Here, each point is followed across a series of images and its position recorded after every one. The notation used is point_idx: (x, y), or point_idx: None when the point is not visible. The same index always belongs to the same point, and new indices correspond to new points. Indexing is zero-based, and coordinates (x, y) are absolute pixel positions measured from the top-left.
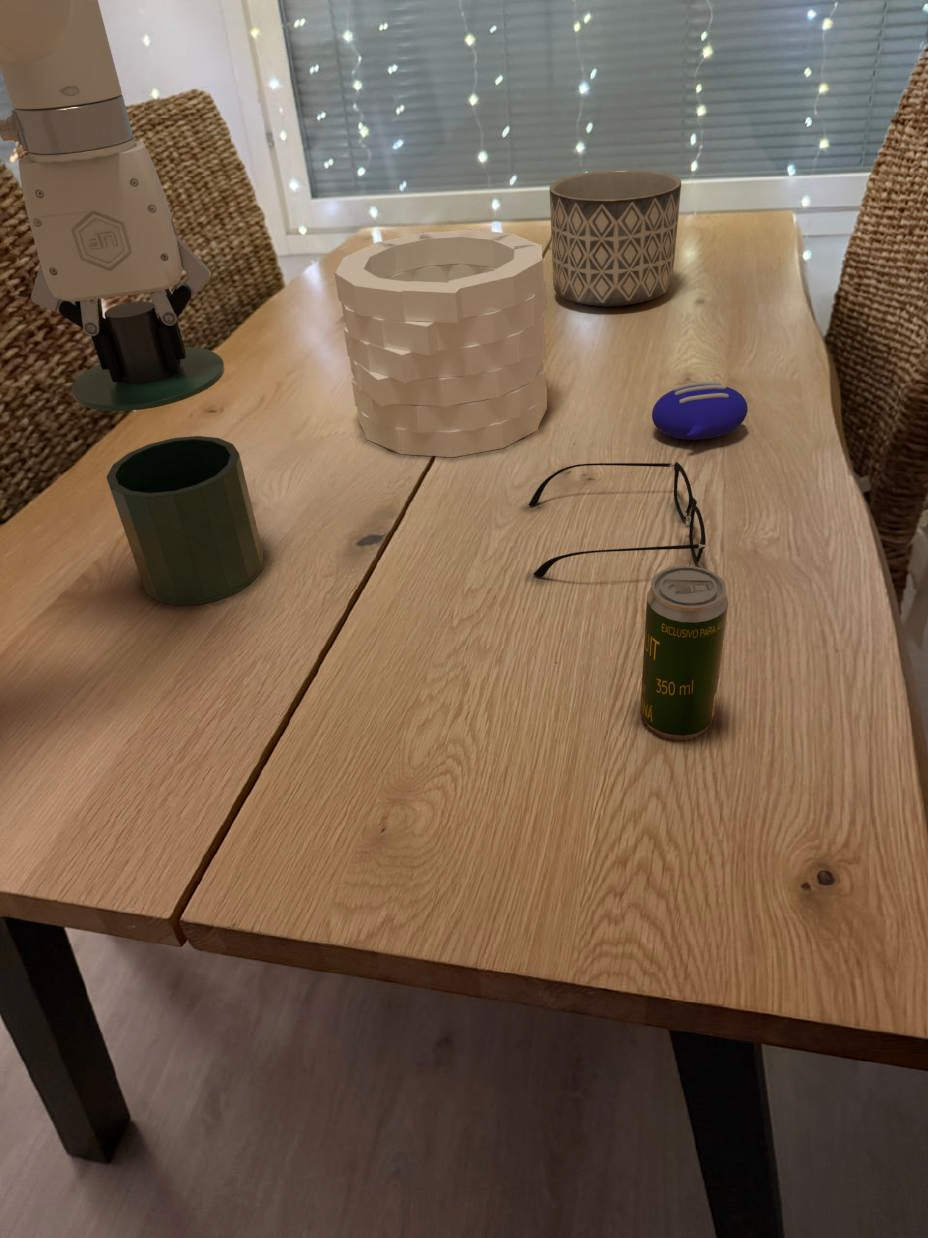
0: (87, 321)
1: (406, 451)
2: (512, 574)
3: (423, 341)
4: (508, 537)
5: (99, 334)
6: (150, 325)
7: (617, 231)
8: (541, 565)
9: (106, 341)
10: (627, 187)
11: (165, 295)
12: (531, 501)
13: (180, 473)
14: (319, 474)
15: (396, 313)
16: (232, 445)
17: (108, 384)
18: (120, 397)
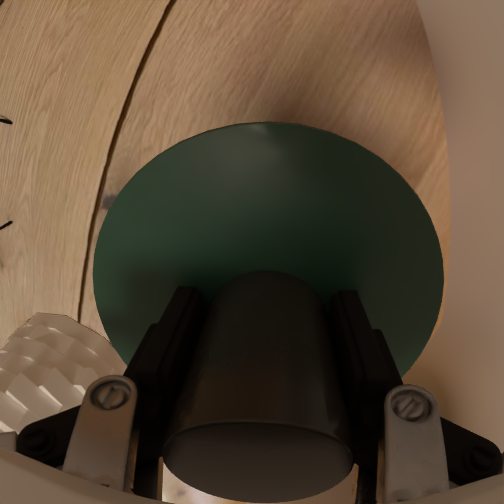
0: (424, 424)
1: (97, 336)
2: (22, 127)
3: (19, 384)
4: (21, 180)
5: (383, 390)
6: (185, 392)
7: None
8: (1, 121)
9: (363, 364)
10: None
11: (69, 456)
12: (8, 222)
13: None
14: None
15: (31, 420)
16: None
17: (365, 296)
18: (334, 195)
